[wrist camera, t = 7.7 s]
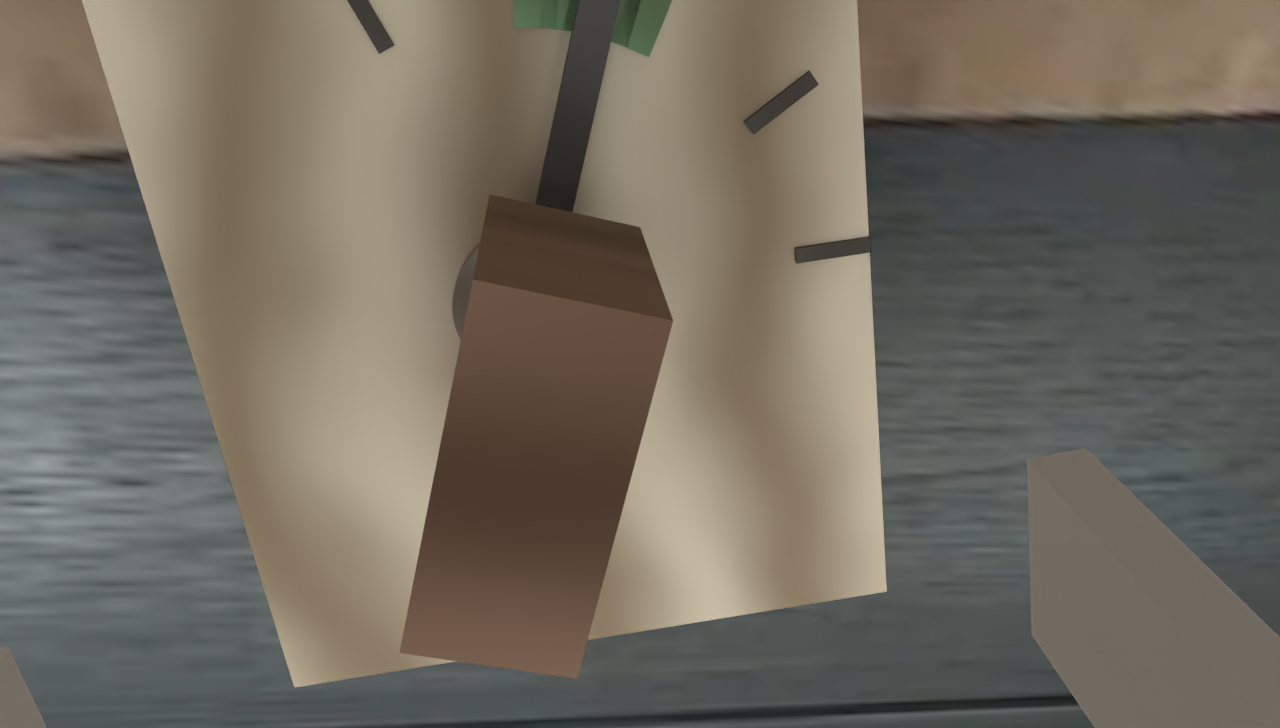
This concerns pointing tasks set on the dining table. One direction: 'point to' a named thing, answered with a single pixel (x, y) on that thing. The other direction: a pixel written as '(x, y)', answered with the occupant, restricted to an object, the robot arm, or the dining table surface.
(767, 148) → the tuner board
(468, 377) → the peg
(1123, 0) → the dining table surface
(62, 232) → the dining table surface
